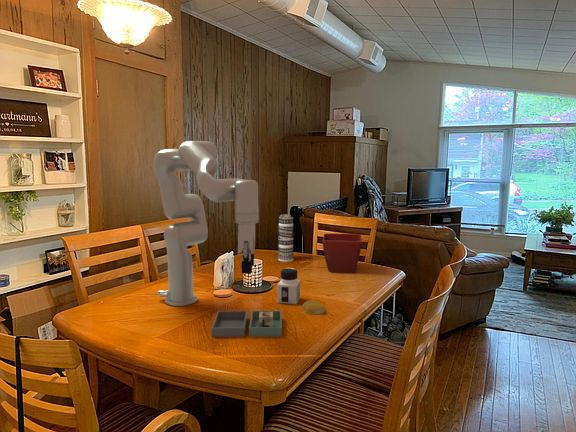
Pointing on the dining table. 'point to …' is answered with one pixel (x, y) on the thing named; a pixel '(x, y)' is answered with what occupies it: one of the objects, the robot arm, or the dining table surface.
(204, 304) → the dining table surface
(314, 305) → the bread roll
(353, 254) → the plant pot
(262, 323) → the letter cube
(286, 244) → the decorative candle
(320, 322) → the dining table surface
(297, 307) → the dining table surface
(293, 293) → the container
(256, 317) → the green-grey bin
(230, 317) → the charcoal bin
